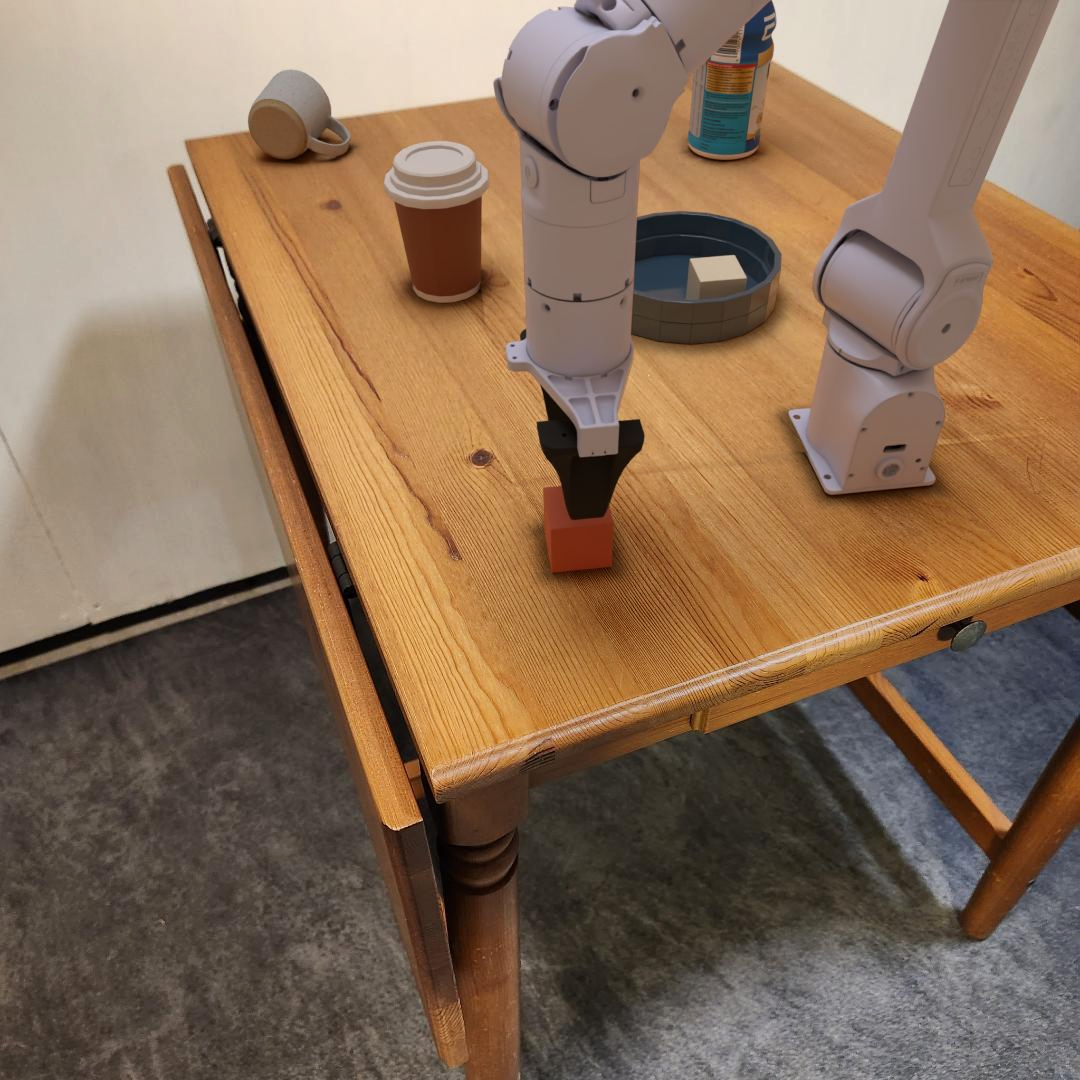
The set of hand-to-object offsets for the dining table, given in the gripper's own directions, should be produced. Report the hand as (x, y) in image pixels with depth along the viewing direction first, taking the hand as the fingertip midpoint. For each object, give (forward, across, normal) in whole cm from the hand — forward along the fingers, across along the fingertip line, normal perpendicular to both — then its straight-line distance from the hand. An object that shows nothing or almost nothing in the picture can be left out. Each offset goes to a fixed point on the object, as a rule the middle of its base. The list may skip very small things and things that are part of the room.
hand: (577, 472), depth 58 cm
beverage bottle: (+7, -62, +26) cm, 68 cm away
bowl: (+7, -30, +14) cm, 34 cm away
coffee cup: (+7, -36, -7) cm, 37 cm away
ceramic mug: (+7, -70, -22) cm, 74 cm away
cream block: (+6, -27, +16) cm, 32 cm away
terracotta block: (+7, 0, 0) cm, 7 cm away
